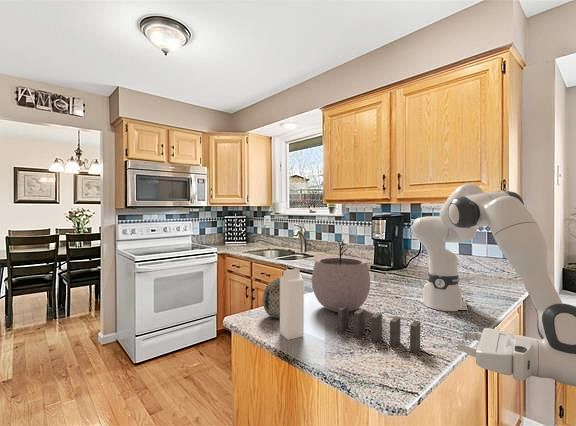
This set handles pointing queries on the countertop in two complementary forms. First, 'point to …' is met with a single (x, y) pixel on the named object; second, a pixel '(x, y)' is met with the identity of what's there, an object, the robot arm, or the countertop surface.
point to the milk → (292, 304)
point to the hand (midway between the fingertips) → (460, 340)
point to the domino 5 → (415, 336)
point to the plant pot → (341, 281)
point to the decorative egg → (272, 298)
